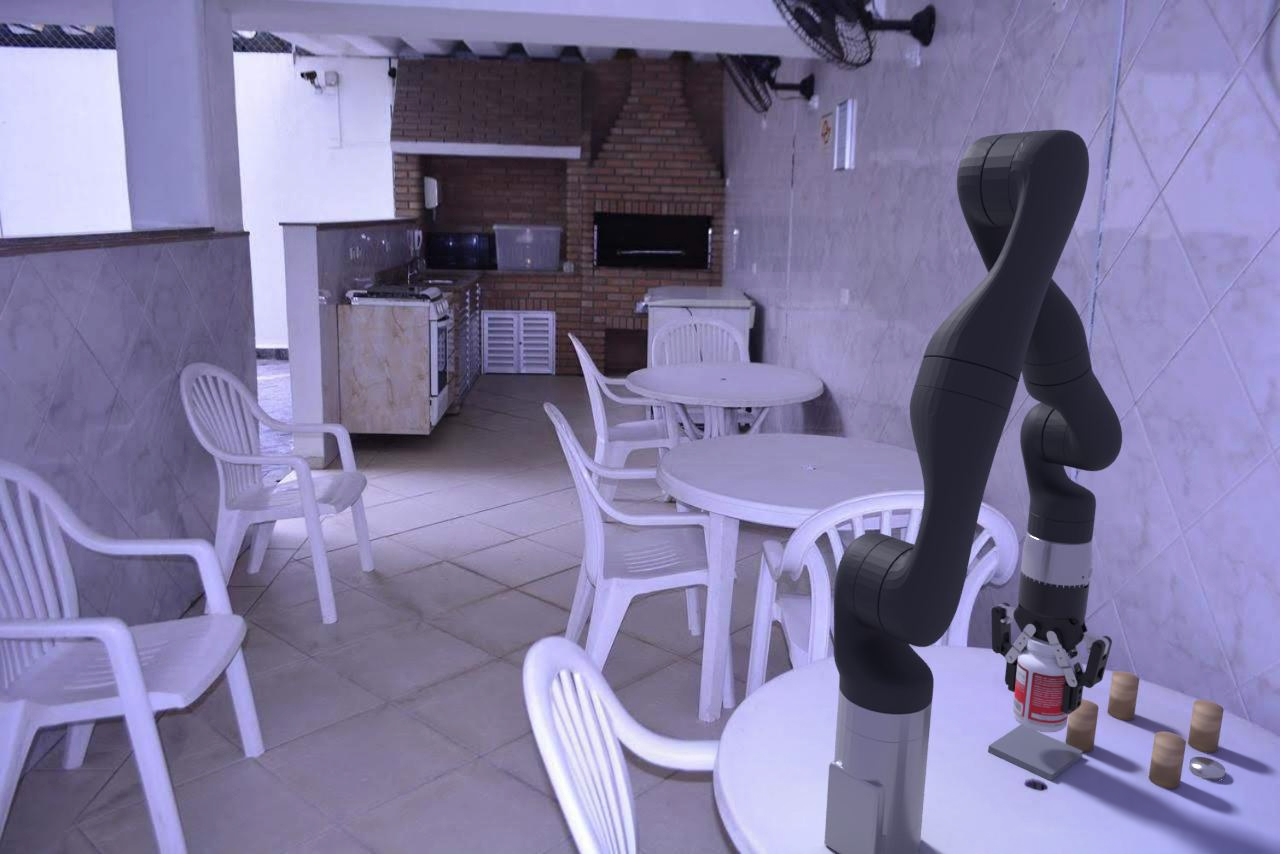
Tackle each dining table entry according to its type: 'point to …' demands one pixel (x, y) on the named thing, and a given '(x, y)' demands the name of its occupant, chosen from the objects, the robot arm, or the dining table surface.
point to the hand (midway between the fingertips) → (1041, 699)
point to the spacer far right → (1123, 695)
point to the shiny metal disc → (1207, 768)
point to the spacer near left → (1167, 760)
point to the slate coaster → (1035, 752)
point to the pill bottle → (1039, 688)
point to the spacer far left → (1205, 726)
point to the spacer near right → (1082, 726)
